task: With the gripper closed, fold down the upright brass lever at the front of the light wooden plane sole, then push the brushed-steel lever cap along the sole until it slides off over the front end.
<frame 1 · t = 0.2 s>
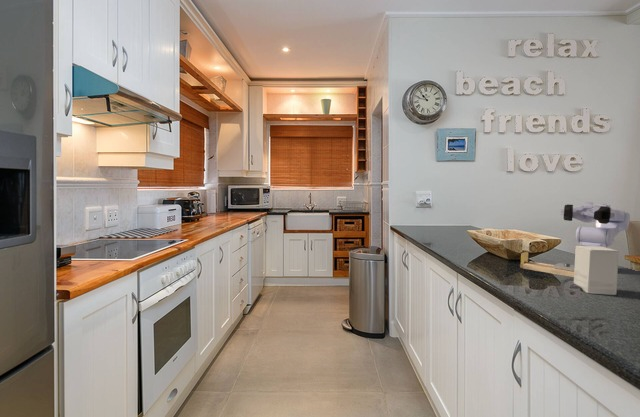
hand: (580, 214, 105), 21 cm above the worktop, tool horizontal, fingers open, 7 cm apart
plane sole: (552, 273, 113), on the worktop
lever cap: (566, 266, 110), point 3 cm above the worktop, slide at 0.0 cm
supplement box: (593, 291, 95), on the worktop
lever: (524, 259, 120), point 3 cm above the worktop, hinge at 0.0°
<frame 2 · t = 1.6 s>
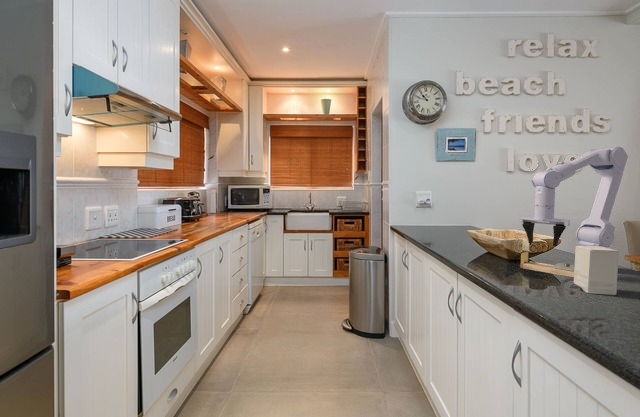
hand: (542, 244, 115), 10 cm above the worktop, tool pointing down, fingers open, 7 cm apart
nothing on the worktop moved.
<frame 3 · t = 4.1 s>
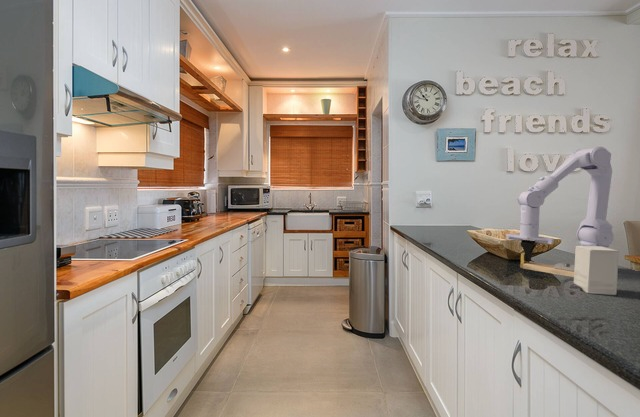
hand: (527, 261, 119), 3 cm above the worktop, tool pointing down, fingers closed, pressing on lever
lever: (524, 259, 120), point 3 cm above the worktop, hinge at 0.7°, touching gripper
everything else where it was.
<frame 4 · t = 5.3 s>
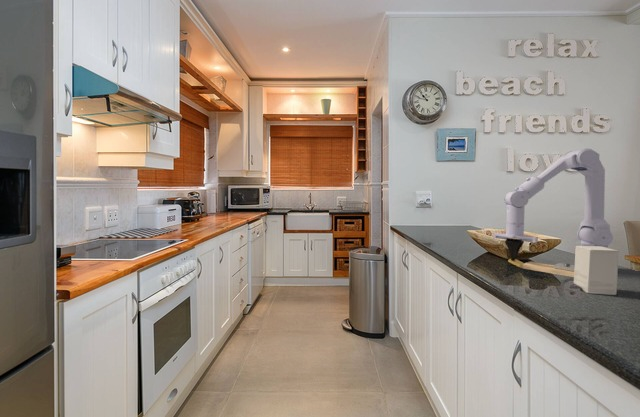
hand: (513, 259, 123), 3 cm above the worktop, tool pointing down, fingers closed, pressing on lever
lever: (517, 262, 122), point 2 cm above the worktop, hinge at 70.5°, touching gripper
everything else where it was.
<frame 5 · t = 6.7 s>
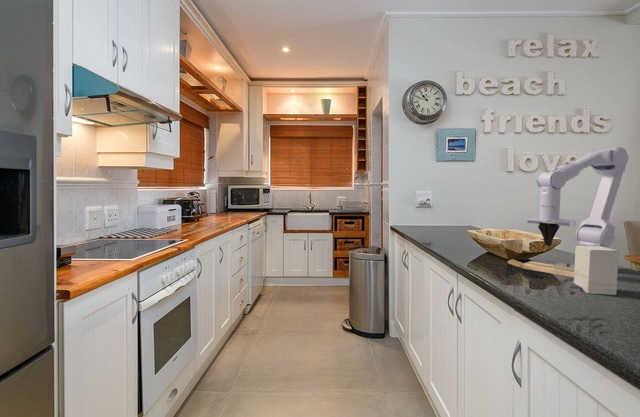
hand: (548, 245, 114), 10 cm above the worktop, tool pointing down, fingers closed
lever: (516, 263, 122), point 2 cm above the worktop, hinge at 77.3°
everything else where it was.
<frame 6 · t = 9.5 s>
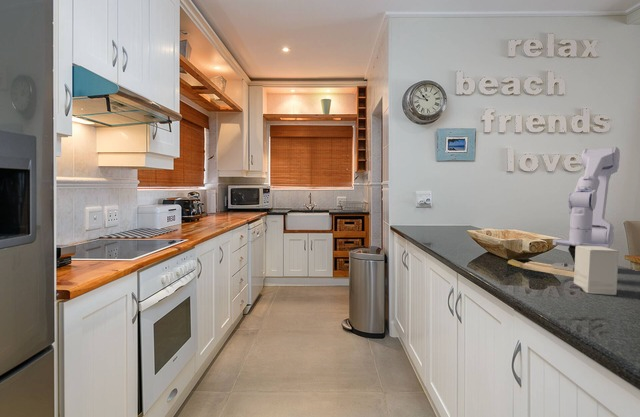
hand: (578, 269, 108), 3 cm above the worktop, tool pointing down, fingers closed
lever cap: (564, 265, 110), point 3 cm above the worktop, slide at 0.7 cm, touching gripper
lever: (516, 263, 122), point 2 cm above the worktop, hinge at 77.9°
everything else where it was.
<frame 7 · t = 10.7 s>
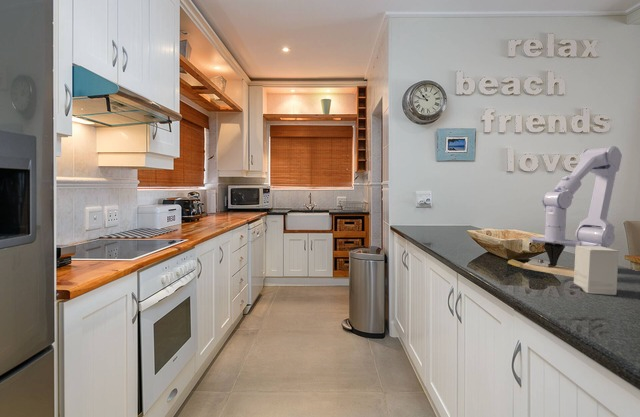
hand: (553, 265, 113), 3 cm above the worktop, tool pointing down, fingers closed
lever cap: (540, 262, 116), point 3 cm above the worktop, slide at 7.7 cm, touching gripper
everything else where it was.
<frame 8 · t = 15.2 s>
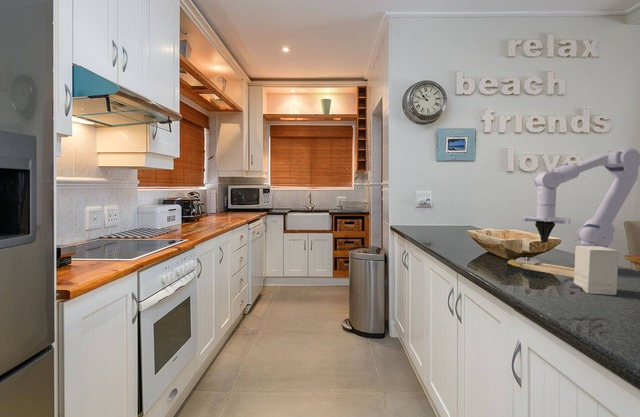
hand: (544, 242, 120), 10 cm above the worktop, tool pointing down, fingers closed
lever cap: (527, 260, 119), point 3 cm above the worktop, slide at 11.8 cm
everything else where it was.
at the end: lever at +78° (first picture: +0°); lever cap slide at 11.8 cm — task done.
